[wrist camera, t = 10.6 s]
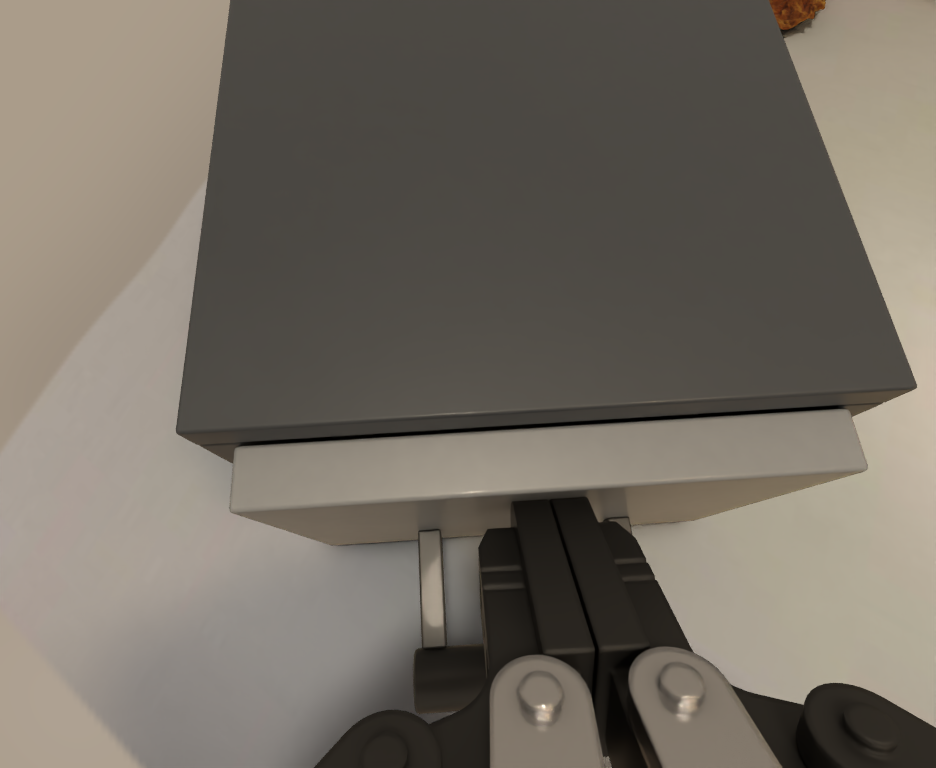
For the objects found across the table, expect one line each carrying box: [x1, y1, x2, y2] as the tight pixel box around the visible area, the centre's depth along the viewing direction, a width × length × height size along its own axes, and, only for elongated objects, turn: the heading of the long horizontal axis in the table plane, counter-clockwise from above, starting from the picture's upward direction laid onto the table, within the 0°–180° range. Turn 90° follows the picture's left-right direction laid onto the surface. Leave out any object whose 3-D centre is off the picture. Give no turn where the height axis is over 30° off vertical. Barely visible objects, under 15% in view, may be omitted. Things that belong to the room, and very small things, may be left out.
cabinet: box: [176, 0, 917, 463], centre depth 16 cm, size 15×13×10 cm
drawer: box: [229, 409, 868, 714], centre depth 15 cm, size 18×11×8 cm, turn 4°
